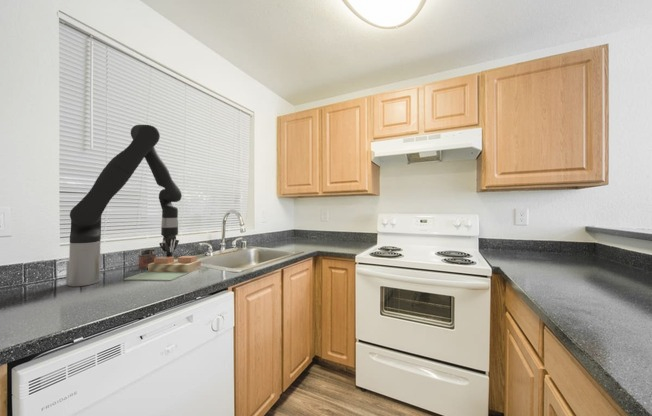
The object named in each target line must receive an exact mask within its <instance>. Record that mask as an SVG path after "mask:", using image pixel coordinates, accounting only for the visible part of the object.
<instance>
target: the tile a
mask: <svg viewBox="0 0 652 416" xmlns="http://www.w3.org/2000/svg"><path fill="white" fill-rule="evenodd" d="M174 260H175V256H172V257H166V256H158V257H156V258H154V263H159V264H168V263H171V262H174Z"/></svg>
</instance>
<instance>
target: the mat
mask: <svg viewBox="0 0 652 416" xmlns="http://www.w3.org/2000/svg"><path fill="white" fill-rule="evenodd" d="M188 274H189V273H188V272H148V271H144V272H141V273H137V274H135V275H132V276H128V277H126V278H124V279H123V281H149V282H150V281H154V282H155V281H157V282H160V281H162V282H172V281H174V280H176V279H180V278H182V277H183V275H184V276H186V275H188Z"/></svg>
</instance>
